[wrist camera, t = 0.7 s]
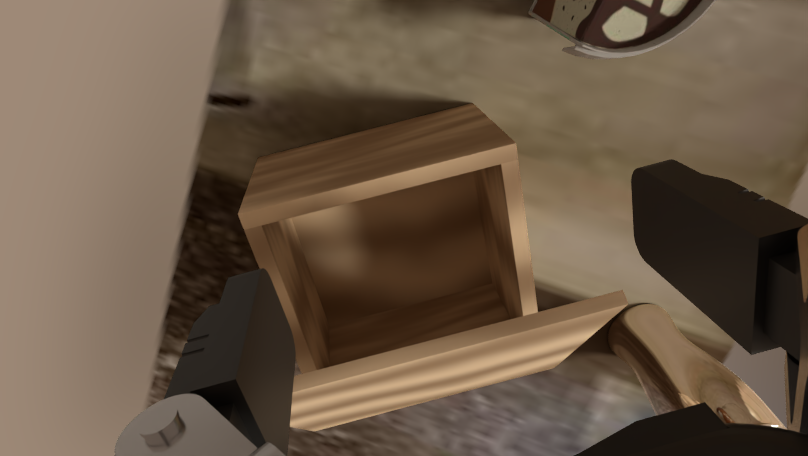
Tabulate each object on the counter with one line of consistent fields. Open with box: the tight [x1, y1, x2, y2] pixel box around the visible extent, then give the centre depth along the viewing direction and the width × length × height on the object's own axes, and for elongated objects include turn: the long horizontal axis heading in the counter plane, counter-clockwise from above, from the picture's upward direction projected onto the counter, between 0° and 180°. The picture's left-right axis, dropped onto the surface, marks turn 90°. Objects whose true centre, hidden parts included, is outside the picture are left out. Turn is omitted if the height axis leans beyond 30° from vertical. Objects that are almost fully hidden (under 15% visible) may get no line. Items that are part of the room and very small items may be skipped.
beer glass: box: [608, 304, 786, 429], centre depth 44 cm, size 7×7×15 cm
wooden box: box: [238, 103, 538, 374], centre depth 38 cm, size 16×16×10 cm
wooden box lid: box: [290, 290, 628, 431], centre depth 29 cm, size 17×17×1 cm
